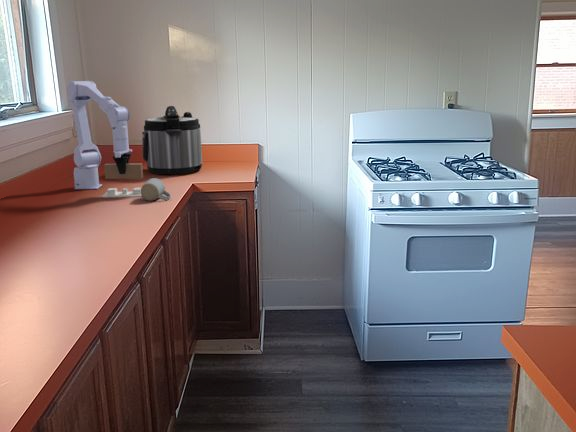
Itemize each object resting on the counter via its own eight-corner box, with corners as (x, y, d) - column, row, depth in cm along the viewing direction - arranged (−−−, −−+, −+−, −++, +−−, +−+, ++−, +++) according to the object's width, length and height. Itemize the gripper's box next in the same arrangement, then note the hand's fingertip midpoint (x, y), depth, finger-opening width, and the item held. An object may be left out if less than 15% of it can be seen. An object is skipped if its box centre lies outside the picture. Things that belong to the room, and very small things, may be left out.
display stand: (102, 197, 213) (101, 191, 212) (107, 193, 221) (106, 187, 220) (143, 196, 214) (143, 190, 213) (147, 192, 222) (146, 186, 221)
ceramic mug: (139, 201, 206) (138, 181, 204) (146, 196, 214) (145, 177, 212) (167, 202, 206) (166, 182, 204) (173, 197, 214) (172, 178, 212)
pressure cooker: (165, 164, 288) (162, 103, 280) (213, 167, 278) (211, 104, 270) (131, 174, 261) (126, 107, 252) (183, 178, 251) (179, 108, 243)
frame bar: (105, 178, 214) (104, 164, 212) (107, 177, 216) (106, 163, 215) (141, 178, 215) (140, 164, 213) (143, 176, 217) (142, 163, 216)
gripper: (127, 140, 205) (129, 176, 208) (134, 136, 219) (137, 169, 222) (107, 140, 204) (111, 176, 208) (117, 136, 218) (119, 169, 222)
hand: (123, 173), depth 215 cm, fingers closed on frame bar, 3 cm apart
